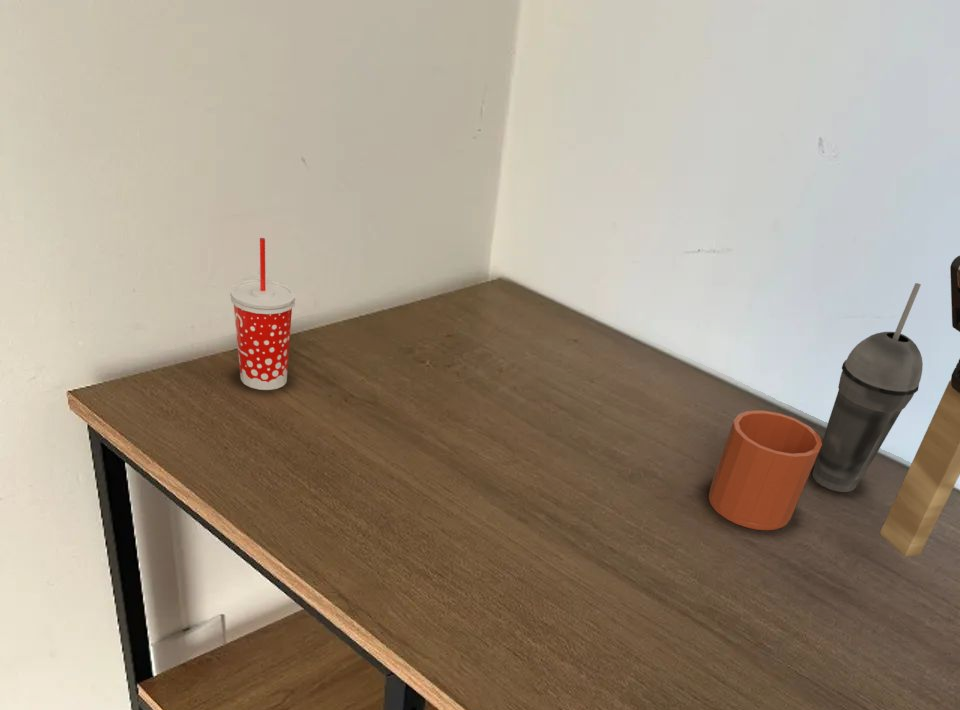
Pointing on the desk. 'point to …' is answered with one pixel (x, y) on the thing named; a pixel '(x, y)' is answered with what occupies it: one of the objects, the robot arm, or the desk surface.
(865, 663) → the desk surface
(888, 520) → the wooden block
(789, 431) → the utensil cup
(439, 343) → the desk surface
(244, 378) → the beverage cup
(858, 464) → the beverage cup
